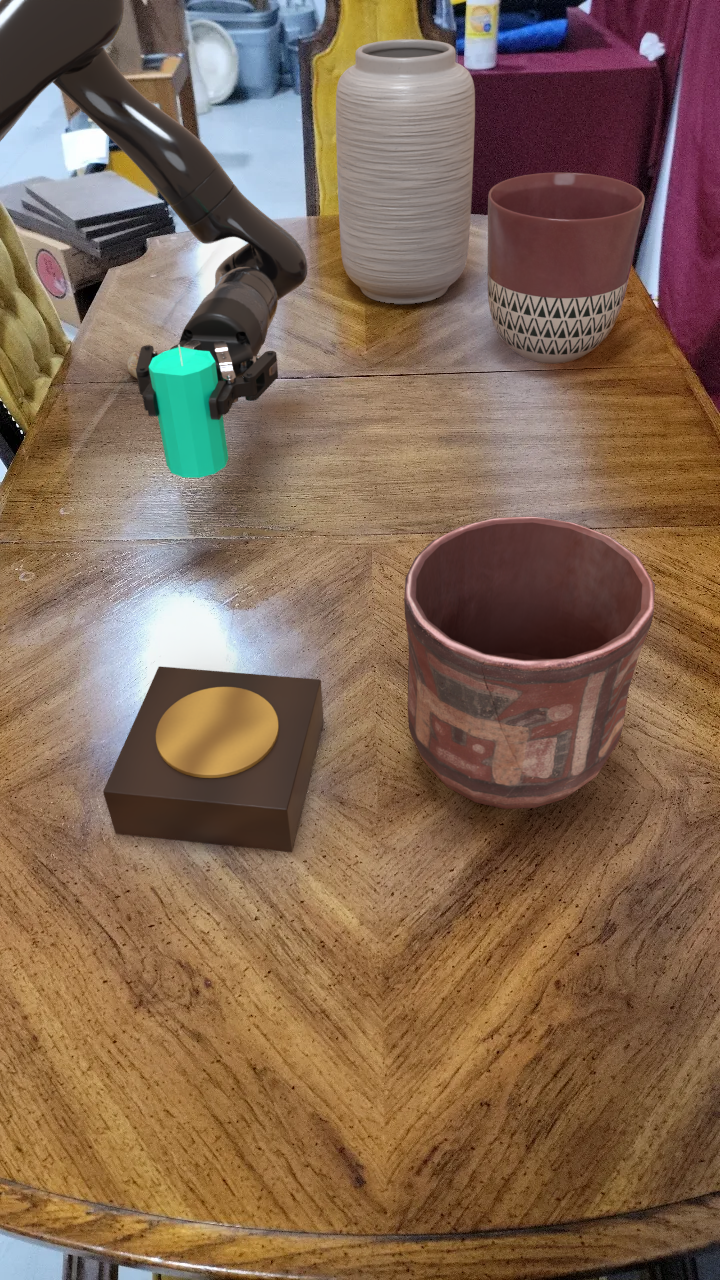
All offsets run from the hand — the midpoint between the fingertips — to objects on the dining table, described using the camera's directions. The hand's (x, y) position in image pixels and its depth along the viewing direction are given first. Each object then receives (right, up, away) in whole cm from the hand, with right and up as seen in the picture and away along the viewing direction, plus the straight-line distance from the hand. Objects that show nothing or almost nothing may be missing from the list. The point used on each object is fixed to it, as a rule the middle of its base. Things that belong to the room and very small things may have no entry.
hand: (182, 408), depth 90 cm
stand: (+5, -32, -9) cm, 34 cm away
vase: (+23, +36, +70) cm, 81 cm away
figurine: (-9, +13, +44) cm, 47 cm away
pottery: (+29, -31, -8) cm, 43 cm away
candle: (0, -4, +7) cm, 8 cm away
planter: (+43, +19, +49) cm, 68 cm away
